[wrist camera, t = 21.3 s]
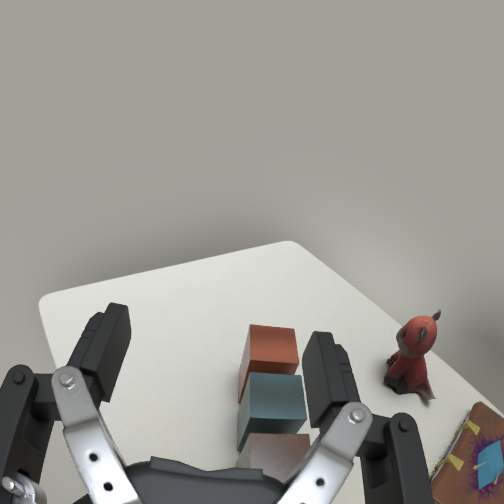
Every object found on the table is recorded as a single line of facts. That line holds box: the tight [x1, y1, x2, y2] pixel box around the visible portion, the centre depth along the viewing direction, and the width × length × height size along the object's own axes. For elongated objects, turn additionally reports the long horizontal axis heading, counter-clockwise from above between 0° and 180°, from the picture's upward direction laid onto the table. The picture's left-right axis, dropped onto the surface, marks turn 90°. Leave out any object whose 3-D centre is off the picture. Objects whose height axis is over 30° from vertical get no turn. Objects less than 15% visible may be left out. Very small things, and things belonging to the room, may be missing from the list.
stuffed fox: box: [384, 309, 441, 400], centre depth 33 cm, size 8×11×12 cm
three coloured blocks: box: [236, 324, 310, 482], centre depth 26 cm, size 18×5×9 cm, turn 0°
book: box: [430, 402, 504, 504], centre depth 18 cm, size 16×25×5 cm, turn 127°
